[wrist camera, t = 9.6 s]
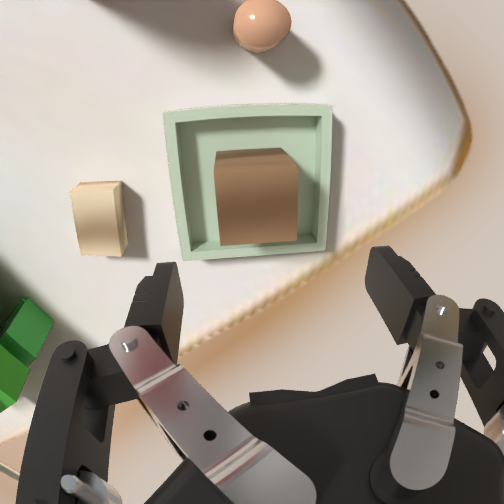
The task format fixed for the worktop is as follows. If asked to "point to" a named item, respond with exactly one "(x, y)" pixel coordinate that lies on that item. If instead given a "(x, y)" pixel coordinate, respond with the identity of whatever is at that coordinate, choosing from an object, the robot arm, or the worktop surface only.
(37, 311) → the tank
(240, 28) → the brown egg
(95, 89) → the worktop surface
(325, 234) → the tray
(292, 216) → the walnut block
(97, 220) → the beech slab
